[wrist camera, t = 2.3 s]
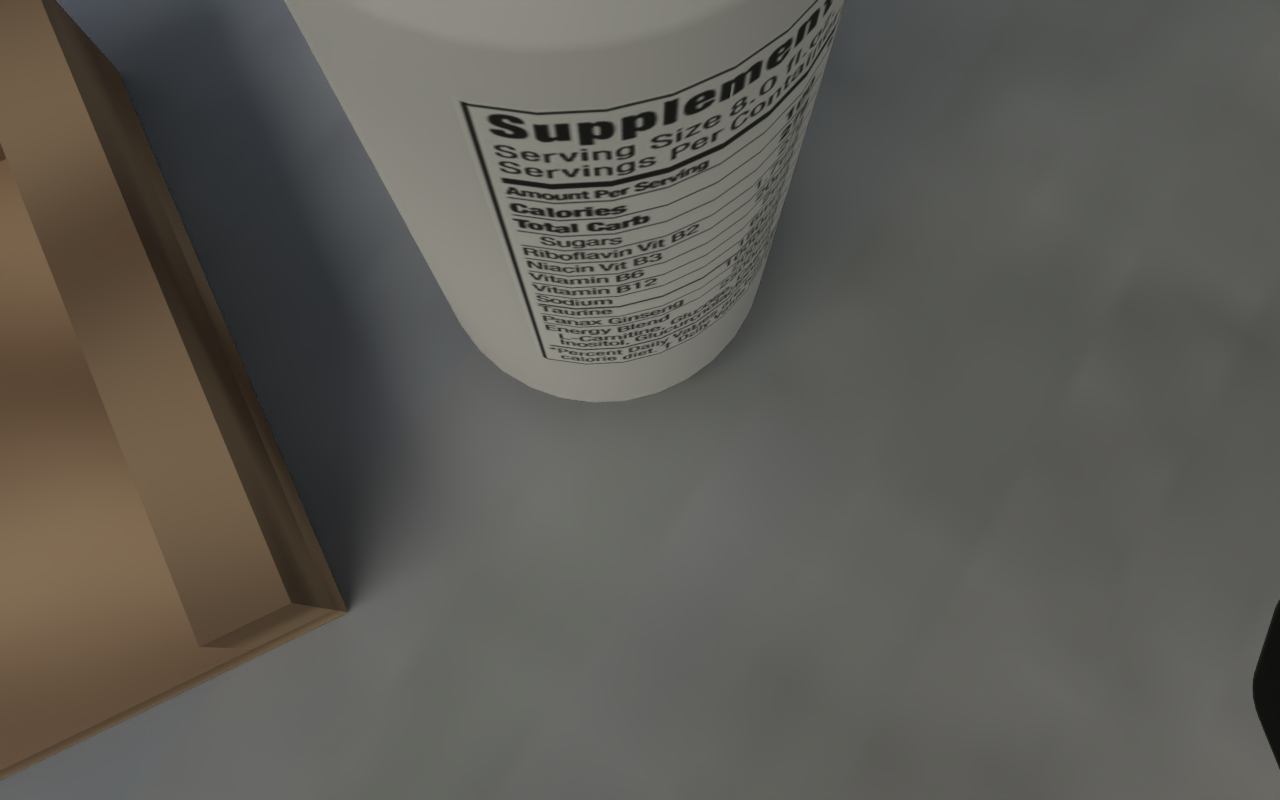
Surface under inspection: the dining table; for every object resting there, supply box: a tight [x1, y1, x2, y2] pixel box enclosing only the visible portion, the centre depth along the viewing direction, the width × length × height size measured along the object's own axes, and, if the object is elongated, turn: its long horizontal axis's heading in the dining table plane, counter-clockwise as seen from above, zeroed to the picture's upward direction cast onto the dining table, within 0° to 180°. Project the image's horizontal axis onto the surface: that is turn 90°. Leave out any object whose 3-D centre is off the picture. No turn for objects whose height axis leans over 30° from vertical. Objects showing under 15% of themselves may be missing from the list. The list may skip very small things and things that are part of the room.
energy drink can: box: [284, 0, 846, 402], centre depth 15 cm, size 6×6×15 cm
